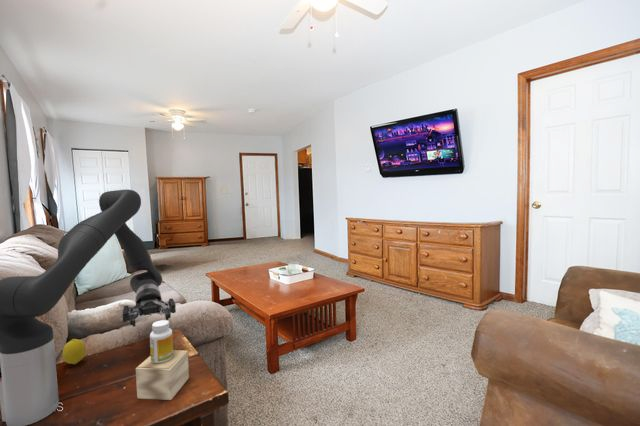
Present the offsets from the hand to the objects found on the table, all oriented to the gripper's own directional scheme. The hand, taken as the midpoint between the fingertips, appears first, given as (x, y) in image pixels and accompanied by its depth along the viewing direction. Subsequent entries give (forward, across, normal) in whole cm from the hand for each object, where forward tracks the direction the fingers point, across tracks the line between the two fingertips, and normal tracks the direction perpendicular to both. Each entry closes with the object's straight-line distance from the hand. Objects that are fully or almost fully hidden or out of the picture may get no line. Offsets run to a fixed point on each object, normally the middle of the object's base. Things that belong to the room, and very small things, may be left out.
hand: (151, 320), depth 89 cm
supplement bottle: (+12, +2, +6) cm, 13 cm away
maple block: (+13, +2, +14) cm, 19 cm away
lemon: (-14, -20, +17) cm, 30 cm away
